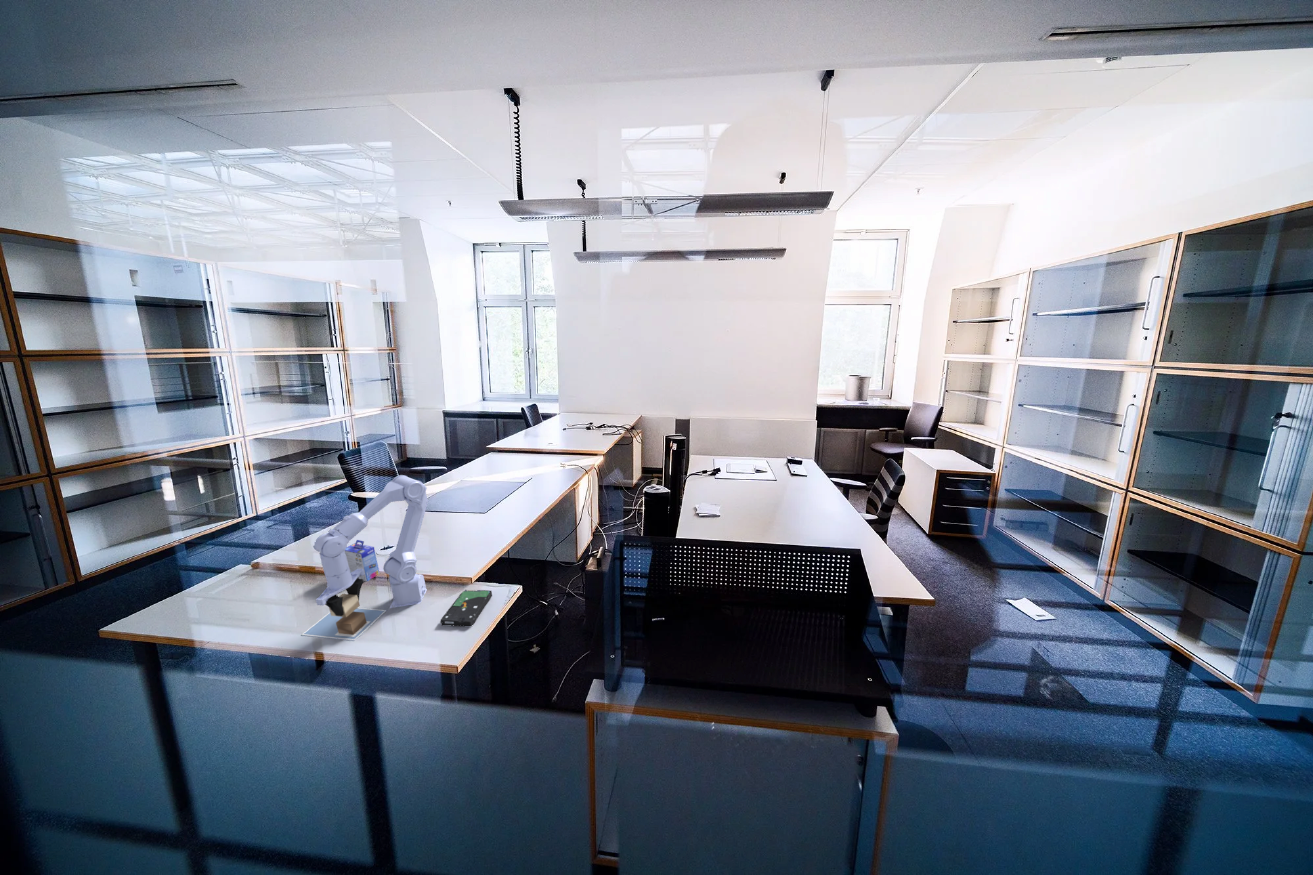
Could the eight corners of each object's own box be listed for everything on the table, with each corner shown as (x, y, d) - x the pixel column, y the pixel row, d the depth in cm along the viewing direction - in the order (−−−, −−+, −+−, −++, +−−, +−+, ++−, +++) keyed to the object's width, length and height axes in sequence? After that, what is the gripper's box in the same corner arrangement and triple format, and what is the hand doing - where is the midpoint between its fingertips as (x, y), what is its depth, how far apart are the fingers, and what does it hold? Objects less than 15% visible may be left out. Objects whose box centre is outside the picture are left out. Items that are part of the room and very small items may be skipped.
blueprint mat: (387, 611, 132) (386, 609, 131) (354, 642, 119) (354, 640, 119) (338, 607, 134) (337, 605, 133) (301, 636, 121) (300, 635, 121)
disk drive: (472, 628, 126) (492, 596, 140) (471, 621, 125) (491, 589, 139) (441, 627, 126) (464, 595, 140) (439, 620, 125) (463, 588, 139)
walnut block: (366, 622, 126) (364, 612, 125) (353, 634, 121) (350, 624, 120) (352, 621, 127) (349, 611, 125) (338, 633, 122) (335, 622, 121)
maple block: (359, 605, 124) (357, 595, 123) (346, 617, 119) (343, 606, 118) (345, 604, 125) (342, 593, 123) (331, 615, 120) (328, 604, 119)
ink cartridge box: (381, 574, 151) (373, 540, 146) (367, 583, 146) (359, 549, 141) (361, 569, 153) (353, 536, 149) (347, 578, 148) (338, 544, 144)
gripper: (345, 555, 125) (355, 591, 129) (301, 585, 111) (313, 624, 115) (366, 557, 124) (375, 593, 128) (324, 587, 110) (335, 626, 114)
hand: (347, 608), depth 122 cm, fingers closed on maple block, 5 cm apart
